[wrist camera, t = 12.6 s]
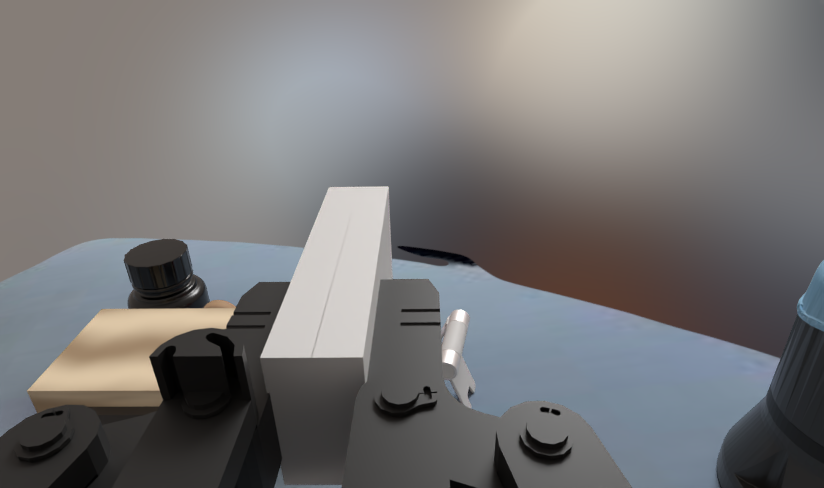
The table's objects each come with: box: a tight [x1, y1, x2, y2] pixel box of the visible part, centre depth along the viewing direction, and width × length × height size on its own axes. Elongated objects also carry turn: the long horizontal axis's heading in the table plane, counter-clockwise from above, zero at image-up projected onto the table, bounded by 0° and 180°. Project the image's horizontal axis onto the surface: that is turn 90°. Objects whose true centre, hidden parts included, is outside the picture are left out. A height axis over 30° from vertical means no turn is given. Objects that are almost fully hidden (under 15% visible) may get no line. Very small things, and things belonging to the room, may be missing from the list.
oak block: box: [27, 308, 235, 425], centre depth 45 cm, size 11×14×15 cm
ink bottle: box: [124, 239, 210, 309], centre depth 65 cm, size 10×9×12 cm
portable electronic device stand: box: [441, 310, 475, 409], centre depth 56 cm, size 9×8×8 cm
